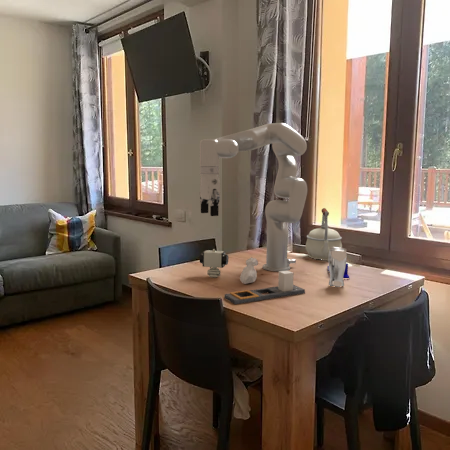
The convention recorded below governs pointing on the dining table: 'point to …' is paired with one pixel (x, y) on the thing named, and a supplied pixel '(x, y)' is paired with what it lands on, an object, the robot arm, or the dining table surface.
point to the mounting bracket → (344, 272)
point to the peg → (285, 281)
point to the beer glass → (337, 266)
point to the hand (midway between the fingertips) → (209, 214)
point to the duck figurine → (249, 271)
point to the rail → (260, 294)
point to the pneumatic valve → (214, 261)
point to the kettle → (322, 240)
